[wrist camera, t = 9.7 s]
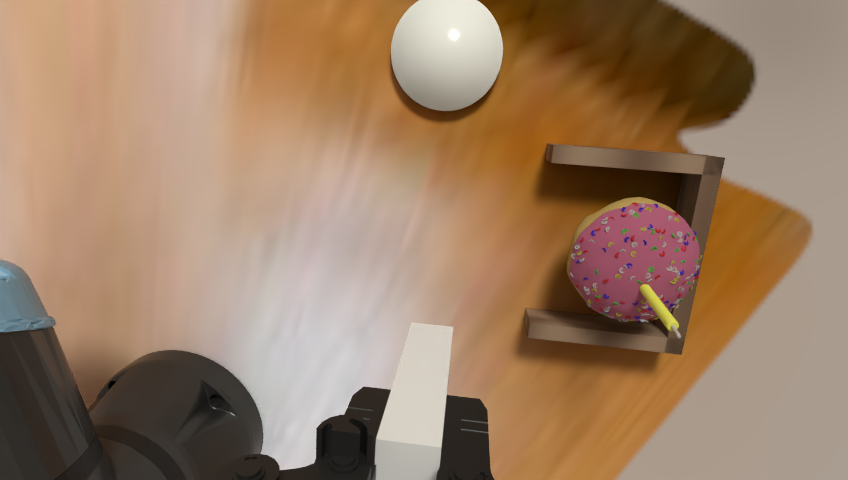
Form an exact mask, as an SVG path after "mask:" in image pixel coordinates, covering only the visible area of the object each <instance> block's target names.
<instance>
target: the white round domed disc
mask: <svg viewBox="0 0 848 480" xmlns="http://www.w3.org/2000/svg"><path fill="white" fill-rule="evenodd" d="M502 56H503V44H502V37H501V33H500V30H499V27H498V25H497V23H496V21H495V19H494V17H493V16H492V14H491V13H490V11H489V10H488V9H487V8H486V7H485V6H484V5H483V4H481V3H480V2H479V1H477V0H419V1H417V2H416V3H415V4H414V5H412V6H411V7H410V8H409V9H408V10H407V11H406V12H405V14H404V15H403V16H402V18H401V19H400V21H399V23H398V25H397V27H396V29H395V32H394V35H393V39H392V45H391V60H392V66H393V70H394V73H395V76H396V78H397V81H398V82H399V84H400V86H401V87H402V89H403V90H404V91H405V92H406V94H407V95H408V96H409V97H410V98H412V99H413V100H414V101H415V102H417V103H419V104H420V105H422V106H425V107H427V108H430V109H433V110H438V111H454V110H459V109H463V108H465V107H468V106H470V105H472V104H473V103H475V102H477V101H478V100H479V99H480V98H482V97H483V96H484V95H485V94H486V93H487V92H488V90H489V89H490V88H491V86H492V85H493V83H494V81H495V80H496V77H497V75H498V73H499V70H500V67H501V63H502Z"/></svg>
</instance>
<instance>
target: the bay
mask: <svg viewBox="0 0 848 480" xmlns="http://www.w3.org/2000/svg"><path fill="white" fill-rule="evenodd" d="M545 160H547V161H549V162H551V163H559V164H572V165H585V166H598V167H611V168H624V169H637V170H650V171H663V172H676V173H683V176H682V181H681V186H680V191H679V196H678V201H677V206H676V211H675V212H676V213H678V214H679V215H680V216H681V217H682V218H683V219H684V220H685V221H686V222H687V224H688V225H689V227H690V228H691V229H692V231H695V232H696V237H697V238H698V243H699V247H700V255H702V257H701V259H700V260H699V266H700V267H699V268H698V270H699V273H700V268H701V264H702V259H703V255H704V250H705V246H706V241H707V237H708V232H709V228H710V223H711V219H712V214H713V210H714V205H715V201H716V196H717V192H718V187H719V183H720V178H721V174H722V169H723V165H724V160H725V158H722V157H715V156H708V155H699V154H685V153H671V152H658V151H644V150H631V149H617V148H603V147H590V146H576V145H563V144H549V143H547V151H546V159H545ZM694 234H695V233H694ZM697 274H698V273H697ZM698 275H699V274H698ZM696 276H697V275H696ZM695 278H697V277H695ZM697 282H698V279H694V283H693V284H692V290H691V291H690V290H689V291H688V293H687V294H686V296H685V297H684V299H683V301H681V302H680V303H679V304H678V305H679V306H678V308H673V309H672V310H671V312H670V313H671V314H672V316H673V317H674V318H675V320H676V321H677V322H678V324H679V327H678V329H677V330H678V332H679V333H680V335H681V338H678V337H677V336H676V334H675V333H674V331H669V330H668V329H667V328H666V327H665V325H664V324H663V322H662V321H661V320H660V318H659V317H658V319H654V320H653V321H648V322H646V321H644V322H640V323H638V321H627V322H624V321H623V320H621V321H622V322H621V321H619V320H617V319H613V318H609V317H605V316H596V315H586V314H577V313H567V312H557V311H548V310H538V309H529V308H526V313H525V320H524V323H525V327H526V331H527V336H528V338H534V339H543V340H552V341H562V342H571V343H580V344H589V345H598V346H607V347H616V348H625V349H635V350H644V351H653V352H662V353H671V354H680V355H681V354H682V349H683V345H684V340H685V336H686V331H687V327H688V322H689V318H690V313H691V309H692V304H693V300H694V295H695V291H696V286H697ZM676 307H677V306H676Z"/></svg>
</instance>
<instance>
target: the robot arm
mask: <svg viewBox="0 0 848 480" xmlns="http://www.w3.org/2000/svg"><path fill="white" fill-rule="evenodd" d="M55 325H56V322H55V319H54V318H53V317H51V316H48V314H47V312H46V310H45V308H44V306H43V304H42V302H41V300H40V298H39V296H38V294H37V292H36V290H35V288H34V286H33V284H32V282H31V279H30V278H29V276H28V275H27V273H26V272H25V271H24V270H23V269H22V268H20V267H19V266H17V265H15V264H13V263H11V262H8V261H5V260H0V480H494V478H493V476H492V474H491V470H490V456H489V435H488V415H487V409H486V407H485V406H484V404H483V403H482V402H481V400H480V399H475V398H467V397H458V396H450V395H447V390H448V379H449V368H450V357H451V346H452V335H453V327H449V326H440V325H430V324H421V323H412V324H411V327H410V330H409V333H408V337H407V340H406V343H405V346H404V349H403V353H402V356H401V359H400V362H399V366H398V369H397V372H396V375H395V379H394V382H393V385H392V388H391V390H388V389H380V388H371V387H363V388H361V389H360V390H359V391H358V392H356V393H355V394H354V395H353V396H352V399H351V401H350V403H349V405H348V408H347V410H346V412H345V414H344V415H339V416H334V417H330V418H329V419H327V420H325V421H323V422H322V423H321V424H320V425H319V426H318V427H317V439H316V460H315V463H314V464H311V465H309V466H306V467H302V468H297V469H289V470H280V471H279V465H278V463H277V462H276V460H275V459H273V458H271V457H270V456H268V455H262V454H260V451H261V446H262V439H263V432H262V423H261V418H260V415H259V412H258V409H257V407H256V405H255V402H254V401H253V399H252V397H251V395H250V394H249V392H248V391H247V389H246V388H245V387H244V386H243V384H242V383H241V382H240V381H239V380H238V379H237V378H236V377H235V376H234V375H233V374H232V373H230V372H229V371H228V370H227V369H225V368H224V367H222V366H221V365H219V364H218V363H216V362H214V361H212V360H210V359H208V358H206V357H203V356H201V355H198V354H194V353H190V352H185V351H177V350H166V351H158V352H153V353H150V354H147V355H145V356H142V357H140V358H138V359H137V360H135V361H134V362H132V363H131V364H129V365H128V366H126V367H125V368H124V369H122V370H121V371H119V372H118V373H117V374H115V375H114V376H113V377H112V378H111V379H110V380H109V381H108V382H107V383H106V385H105V386H104V387H103V389H102V390H101V392H100V393H99V395H98V397H97V399H96V400H95V401H94V403H93V404H92V405H91V406H90V408H89V409H88V411H87V409H86V406H85V404H84V401H83V399H82V397H81V394H80V392H79V389H78V387H77V384H76V382H75V379H74V377H73V375H72V372H71V370H70V367H69V365H68V362H67V360H66V357H65V355H64V352H63V350H62V348H61V345H60V343H59V340H58V338H57V335H56V333H55V330H54V328H53V326H55Z"/></svg>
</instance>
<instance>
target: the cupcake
mask: <svg viewBox="0 0 848 480" xmlns="http://www.w3.org/2000/svg"><path fill="white" fill-rule="evenodd" d="M694 233H695V234H694ZM701 257H702V255H700V247H699V243H698V238H697V237H696V232H695V231H692V229H691V228H690V227H689V225H688V224H687V222H686V221H685V220H684V219H683V218H682V217H681V216H680V215H679V214H678V213H676V212H675V211H674V210H672V209H671V208H670V207H668V206H666V205H664V204H662V203H659V202H656V201H654V200H651V199H647V198H642V197H633V198H625V199H622V200H619V201H617V202H614V203H611V204H609V205H607V206H606V207H604V208H602V209H601V210H599V211H597V212H596V213H593V214H591V215H589V216H587V217H586V218H585V219H584V220H583V221H582V222H581V223H580V224H579V226H578V227H577V229H576V231H575V233H574V235H573V238H572V242H571V245H570V250H569V255H568V261H567V274H568V276H569V278H570V280H571V282H572V283H573V285H574V287H575V288H576V290H577V291H578V293H579V294H580V295H581V296H582V298H583V299H584V300H585V302H586V304H587V306H588V307H590V308H592V309H593V310H595V311H596V312H598V313H600V314H602V315H603V316H606V317H609V318H613V319H617V320H619V321H621V320H623V321H624V322H627V321H638V323H640V322H644V321H646V322H648V320H651V321H653V320H652V319H658V317H659V318H660V320H661V321H662V322H663V324H664V325H665V327H666V328H667V329H668V330H669V331H674V333H675V334H676V336H677V337H678V338H681V335H680V333H679V332H678V330H677V329H678V327H679V324H678V322H677V321H676V320H675V318H674V317H673V316H672V314H671V313H670V312H671V310H672V309H673V308H678V306H679V305H678V304H679V303H680V302H681V301H683V299H684V297H685V296H686V294H687V293H688V291H689V290H690V291H691V290H692V284H693V283H694V279H698V277H699V275H698V274H699V270H698V268H699V267H700V266H699V260H700V259H701ZM697 273H698V274H697ZM696 275H697V276H696ZM695 277H697V278H695ZM676 306H677V307H676ZM621 322H622V321H621Z"/></svg>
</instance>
